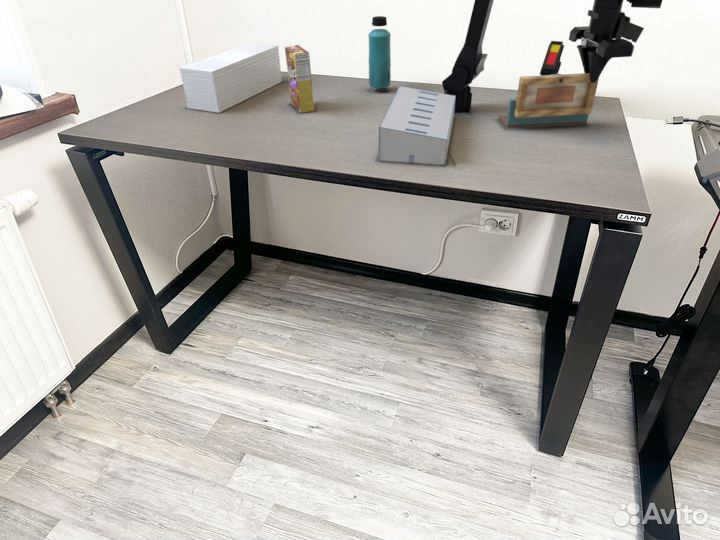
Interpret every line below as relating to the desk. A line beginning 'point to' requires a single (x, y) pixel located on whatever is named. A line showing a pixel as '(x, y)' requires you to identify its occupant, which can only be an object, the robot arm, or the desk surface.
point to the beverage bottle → (379, 54)
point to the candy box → (299, 78)
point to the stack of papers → (231, 76)
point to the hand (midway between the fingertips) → (591, 81)
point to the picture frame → (555, 95)
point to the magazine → (552, 58)
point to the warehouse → (417, 127)
